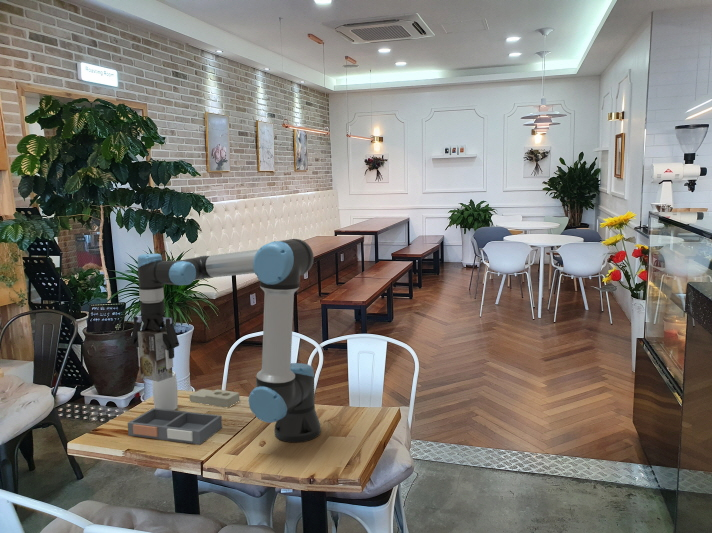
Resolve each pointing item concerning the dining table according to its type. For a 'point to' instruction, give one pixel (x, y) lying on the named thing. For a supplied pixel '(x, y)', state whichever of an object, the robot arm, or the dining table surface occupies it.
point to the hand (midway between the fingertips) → (156, 366)
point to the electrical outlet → (215, 397)
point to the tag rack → (175, 426)
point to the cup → (166, 393)
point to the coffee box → (153, 355)
